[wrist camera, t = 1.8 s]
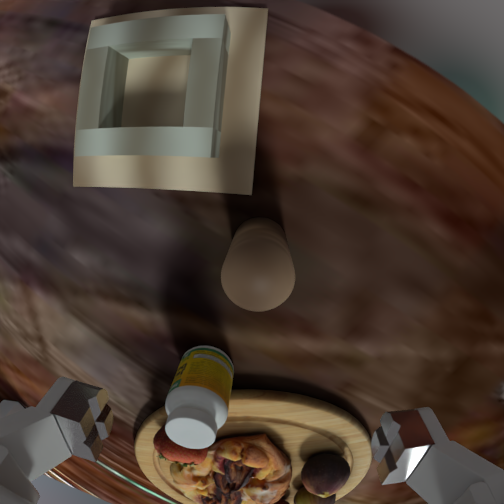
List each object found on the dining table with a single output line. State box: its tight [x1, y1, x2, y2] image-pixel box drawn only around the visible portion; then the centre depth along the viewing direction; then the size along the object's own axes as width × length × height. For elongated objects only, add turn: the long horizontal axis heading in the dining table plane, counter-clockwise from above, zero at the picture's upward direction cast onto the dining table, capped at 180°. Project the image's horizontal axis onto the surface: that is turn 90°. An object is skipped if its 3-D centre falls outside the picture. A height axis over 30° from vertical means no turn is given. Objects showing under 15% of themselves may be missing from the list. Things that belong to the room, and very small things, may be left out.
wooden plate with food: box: [134, 389, 373, 504], centre depth 32 cm, size 32×32×8 cm
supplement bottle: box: [165, 346, 234, 449], centre depth 26 cm, size 5×5×10 cm
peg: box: [221, 217, 295, 311], centre depth 23 cm, size 4×4×8 cm
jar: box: [0, 400, 25, 418], centre depth 31 cm, size 9×8×12 cm
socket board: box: [73, 7, 268, 195], centre depth 21 cm, size 16×16×5 cm
